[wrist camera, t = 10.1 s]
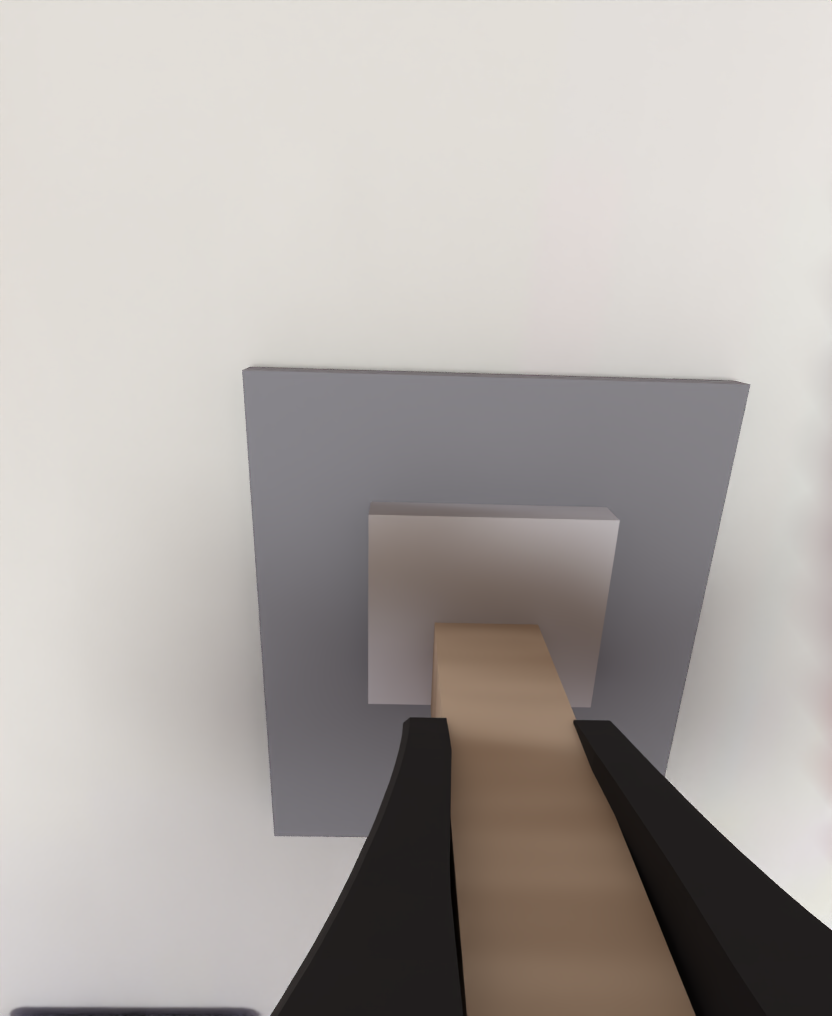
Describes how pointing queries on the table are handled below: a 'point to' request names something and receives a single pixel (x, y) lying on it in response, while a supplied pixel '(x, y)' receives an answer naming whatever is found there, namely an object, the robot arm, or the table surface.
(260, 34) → the table surface
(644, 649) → the mat
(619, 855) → the grey square paddle
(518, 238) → the table surface
